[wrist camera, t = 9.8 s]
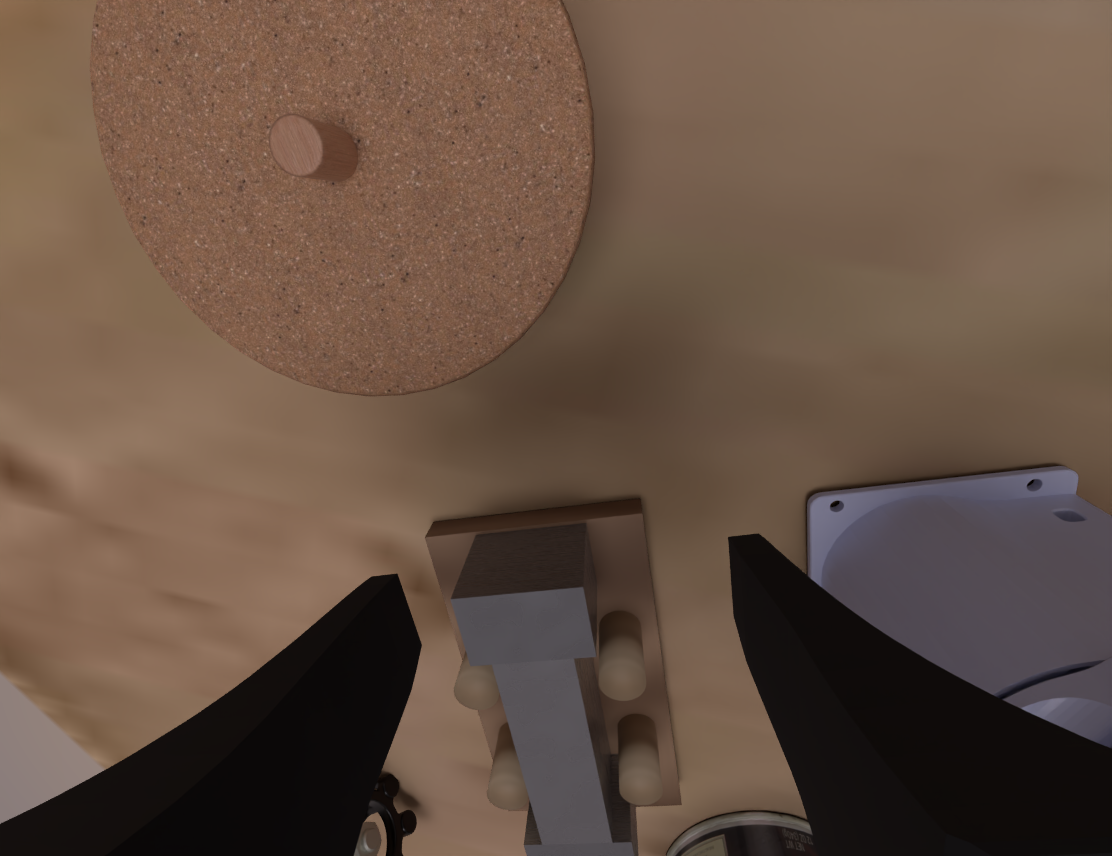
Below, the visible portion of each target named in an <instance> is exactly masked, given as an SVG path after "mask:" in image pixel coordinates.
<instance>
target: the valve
mask: <svg viewBox="0 0 1112 856" xmlns="http://www.w3.org/2000/svg"><path fill="white" fill-rule="evenodd" d="M375 788H376V789H377V790H374V791H373V794H372V797H371V800H370V803H369V806H368V809H367V812H366V815H365V818H364V821H365V820H366V819H367V818H368V817H369V816H370V815H371V814H374V813H376V812H378V813H379V815H380V816H381V818H382V820H383V822H384V825H385V829H386V834H387V851H386V856H403V854H402V839H403V837H405V836H408V835H410V834H412V833H413V832H414V831H415V828H416V824H417V821H416V816H415V814H414V812H413V811H411V810H406V811H404V812H401V813H399V814H398V813H397V811H396V809H395V807H394V805H393V798H394V797H395V796H396V795H397V793H398V790H399V782H398V780H397V779H396V778H395V777H394V776H393V775H391V774H390V775H387V776H385V777H383V778H380V779H378V781H377V784H376V786H375ZM364 821H363V824H362V828H361V832H360V835H359V839H358V843H357V846H356V850H355V853H354V856H377V854H378V851H379V848H380V845H381V835H380V832H379V829H378V827H377V825H376V823H375V822H364Z"/></svg>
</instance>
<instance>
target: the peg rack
mask: <svg viewBox="0 0 1112 856" xmlns="http://www.w3.org/2000/svg"><path fill="white" fill-rule="evenodd" d="M580 523H587V529H588V534H589V540H590V546H591V551H592V557H593V562H594V568H595V574H596V579H597V650H596V657H592V658H593V663H594V668H595V674H596V679H597V684H598V689H599V694H600V699H601V705H602V710H603V715H604V720H605V725H606V730H607V735H608V741H609V746H610V751H611V754H618V758H619V791H620V794H621V796H622V797H623V798H624V799H625V800H626V801H628V802H630V803H632V804H636V807H640V806H668V805H682V803H681V796H680V788H679V781H678V773H677V766H676V759H675V751H674V744H673V736H672V729H671V722H670V714H669V707H668V699H667V692H666V685H665V677H664V670H663V663H662V655H661V648H660V640H659V633H658V626H657V618H656V611H655V603H654V596H653V589H652V581H651V574H650V567H649V559H648V552H647V544H646V537H645V530H644V522H643V515H642V507H641V500H640V499H632V500H623V501H614V502H605V503H597V504H588V505H579V506H570V507H561V508H553V509H544V510H535V511H526V512H518V513H509V514H500V515H491V516H483V517H474V518H465V519H456V520H448V521H439V522H433V524H432V526H431V527H430V529H429V531H428V533H427V535H426V537H425V539H426V542H427V546H428V549H429V552H430V555H431V559H432V562H433V565H434V568H435V572H436V575H437V578H438V582H439V585H440V588H441V591H442V595H443V598H444V601H445V605H446V608H447V611H448V614H449V618H450V621H451V624H452V627H453V631H454V634H455V637H456V641H457V644H458V647H459V650H460V654H461V657H462V660H463V661H462V664H461V667H460V671H459V674H458V677H457V680H456V683H455V687H454V695H455V697H456V699H457V700H458V701H459V702H460V703H461V704H462V705H464V706H465V707H467V708H470V709H474V710H478V713H479V716H480V719H481V723H482V726H483V729H484V732H485V736H486V739H487V742H488V745H489V749H490V752H491V755H492V759H493V765H492V770H491V775H490V780H489V785H488V790H487V797H488V799H489V801H490V802H491V803H492V804H493V805H495V806H496V807H498V808H501V809H505V810H508V811H528V808H529V800H530V799H529V796H528V792H527V789H526V785H525V781H524V778H523V774H522V771H521V767H520V764H519V760H518V757H517V753H516V749H515V746H514V742H513V739H512V735H511V732H510V728H509V724H508V721H507V717H506V714H505V710H504V707H503V703H502V700H501V696H500V692H499V689H498V685H497V682H496V678H495V675H494V671H493V667H492V665H482V666H470V663H469V660H468V657H467V653H466V650H465V647H464V643H463V640H462V637H461V633H460V630H459V627H458V623H457V620H456V617H455V613H454V610H453V607H452V603H451V600H450V599H451V597H452V594H453V591H454V589H455V586H456V584H457V581H458V579H459V576H460V574H461V571H462V569H463V566H464V563H465V561H466V558H467V556H468V553H469V551H470V548H471V546H472V543H473V541H474V538H475V535H479V534H488V533H497V532H506V531H516V530H525V529H534V528H543V527H552V526H561V525H571V524H580Z"/></svg>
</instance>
